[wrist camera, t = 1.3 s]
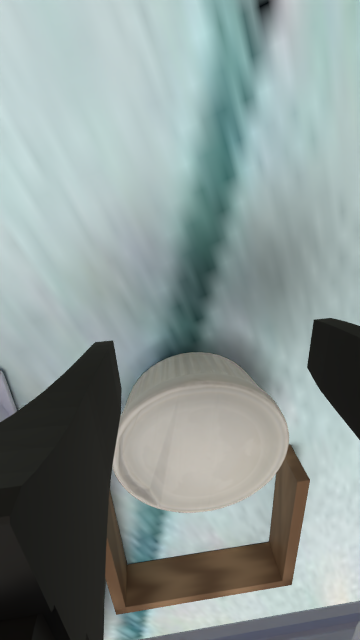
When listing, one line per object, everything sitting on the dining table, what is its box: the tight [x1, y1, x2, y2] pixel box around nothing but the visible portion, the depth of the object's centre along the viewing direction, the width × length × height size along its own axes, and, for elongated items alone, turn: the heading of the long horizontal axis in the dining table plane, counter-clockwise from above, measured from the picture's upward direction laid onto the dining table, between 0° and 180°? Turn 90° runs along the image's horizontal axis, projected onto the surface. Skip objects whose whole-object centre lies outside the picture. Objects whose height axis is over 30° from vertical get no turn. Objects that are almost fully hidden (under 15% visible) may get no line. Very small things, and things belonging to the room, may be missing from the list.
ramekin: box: [112, 352, 289, 513], centre depth 22 cm, size 11×11×5 cm
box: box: [105, 445, 310, 615], centre depth 28 cm, size 17×15×4 cm
